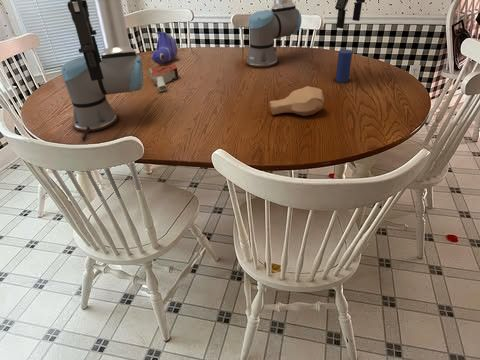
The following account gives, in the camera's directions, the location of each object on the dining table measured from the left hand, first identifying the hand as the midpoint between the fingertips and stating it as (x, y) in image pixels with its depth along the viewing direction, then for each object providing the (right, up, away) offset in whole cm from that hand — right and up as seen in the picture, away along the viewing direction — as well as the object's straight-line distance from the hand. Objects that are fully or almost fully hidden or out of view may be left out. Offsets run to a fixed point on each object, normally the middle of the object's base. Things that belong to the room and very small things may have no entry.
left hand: (97, 70), depth 88 cm
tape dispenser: (0, +18, +75) cm, 78 cm away
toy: (-4, +34, +98) cm, 104 cm away
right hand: (+78, +35, +53) cm, 101 cm away
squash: (+56, -2, +43) cm, 71 cm away
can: (+80, +16, +67) cm, 105 cm away
